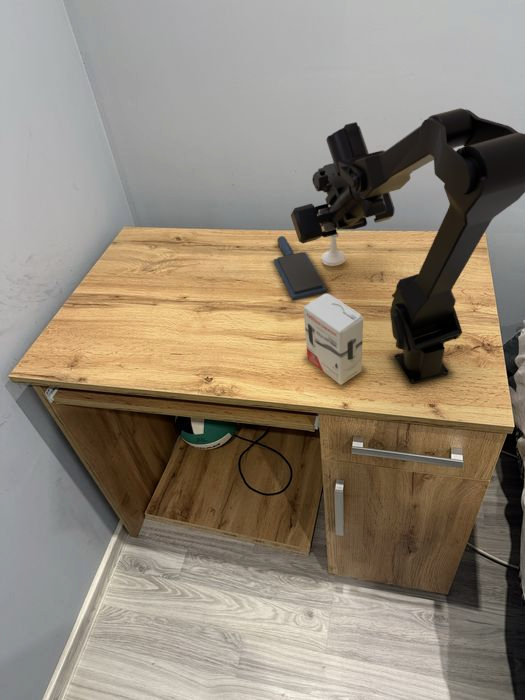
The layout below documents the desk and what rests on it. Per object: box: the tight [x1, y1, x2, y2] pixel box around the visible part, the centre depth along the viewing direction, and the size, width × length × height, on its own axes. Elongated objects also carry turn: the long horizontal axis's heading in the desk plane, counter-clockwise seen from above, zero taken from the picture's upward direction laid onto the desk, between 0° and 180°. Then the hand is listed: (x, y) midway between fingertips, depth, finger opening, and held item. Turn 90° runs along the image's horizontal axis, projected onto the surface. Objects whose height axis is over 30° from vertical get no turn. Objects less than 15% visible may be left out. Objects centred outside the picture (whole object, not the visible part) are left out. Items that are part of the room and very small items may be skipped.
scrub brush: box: [273, 235, 328, 301], centre depth 104 cm, size 21×7×2 cm, turn 14°
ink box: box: [302, 292, 364, 386], centre depth 79 cm, size 8×5×12 cm, turn 37°
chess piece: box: [321, 228, 346, 267], centre depth 100 cm, size 5×5×10 cm
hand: (330, 227), depth 100 cm, fingers closed on chess piece
